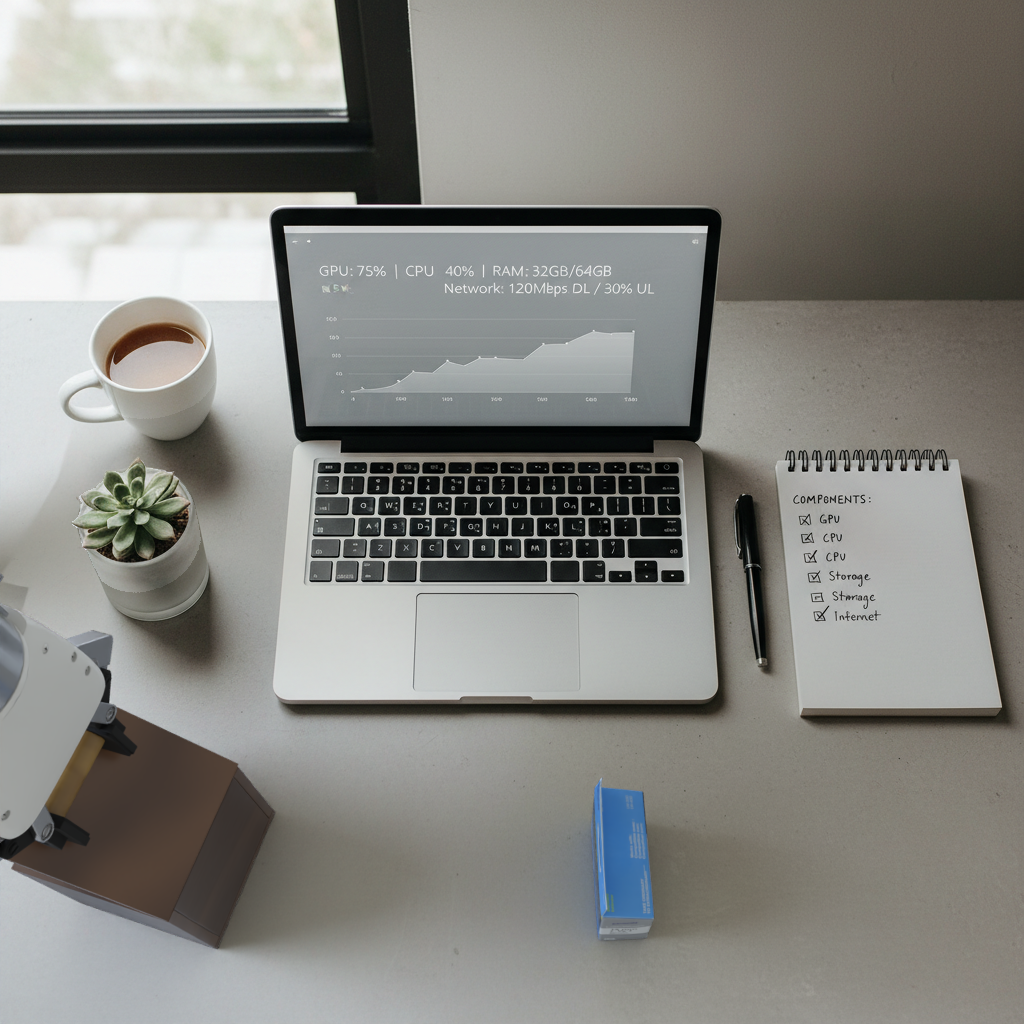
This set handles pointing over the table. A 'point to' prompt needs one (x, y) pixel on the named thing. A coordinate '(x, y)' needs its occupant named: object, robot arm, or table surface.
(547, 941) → the table surface
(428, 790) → the table surface
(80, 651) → the robot arm
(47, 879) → the chest
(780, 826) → the table surface
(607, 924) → the label tape box
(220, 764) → the chest lid
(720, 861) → the table surface
